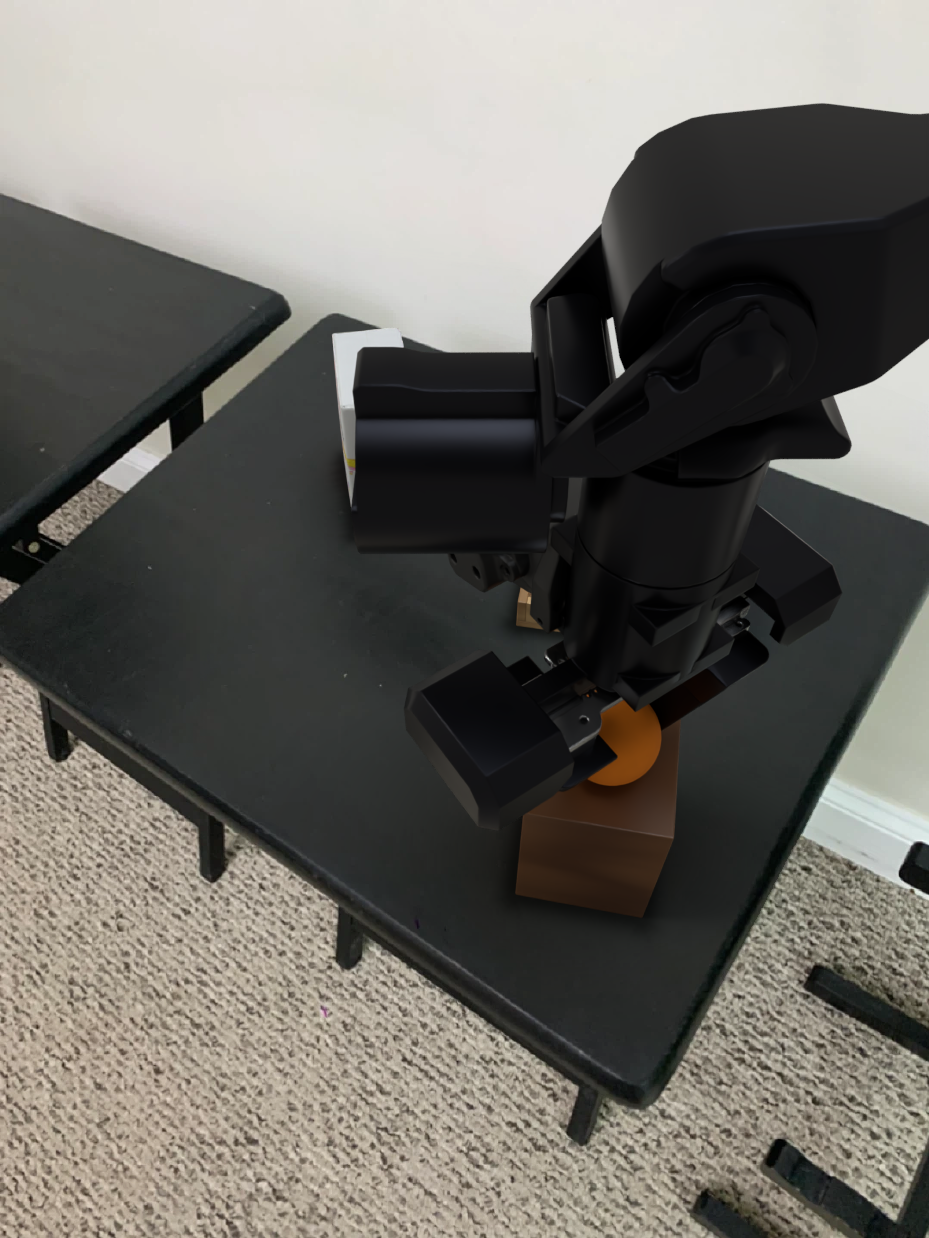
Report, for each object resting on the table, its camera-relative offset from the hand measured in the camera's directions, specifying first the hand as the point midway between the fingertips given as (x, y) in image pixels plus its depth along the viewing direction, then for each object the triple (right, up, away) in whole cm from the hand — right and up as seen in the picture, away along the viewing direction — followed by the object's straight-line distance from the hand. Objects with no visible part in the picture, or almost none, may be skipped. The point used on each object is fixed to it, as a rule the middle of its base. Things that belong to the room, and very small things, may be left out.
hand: (607, 753), depth 44 cm
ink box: (-13, +16, +27) cm, 34 cm away
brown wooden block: (0, -7, +8) cm, 11 cm away
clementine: (0, 0, +1) cm, 1 cm away
